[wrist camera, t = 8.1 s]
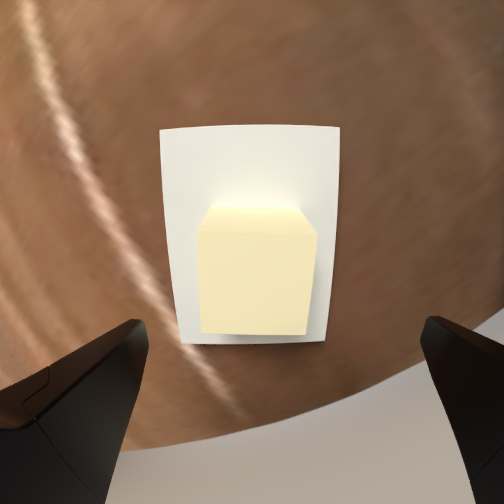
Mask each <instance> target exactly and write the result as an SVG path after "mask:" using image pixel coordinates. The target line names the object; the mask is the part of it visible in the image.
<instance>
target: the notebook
mask: <svg viewBox="0 0 504 504" xmlns="http://www.w3.org/2000/svg"><path fill="white" fill-rule="evenodd" d="M339 144H340V127H326V126H305V125H226V126H205V127H190V128H177V129H166V130H160V151H161V171H162V186H163V200H164V212H165V224H166V234H167V244H168V253H169V262H170V270H171V278H172V286H173V293H174V300H175V307H176V314H177V320H178V326H179V333H180V339H181V343H187V344H267V343H294V342H313V341H325V335H326V328H327V320H328V311H329V303H330V294H331V284H332V274H333V263H334V251H335V238H336V224H337V206H338V184H339ZM211 206H213V207H255V208H283V209H300V211H301V212H302V213H303V215H304V216H305V218H306V219H307V220H308V222H309V223H310V225H311V226H312V227H313V229H314V230H315V232H316V233H317V234H318V240H317V250H316V259H315V268H314V276H313V284H312V292H311V300H310V307H309V314H308V321H307V328H306V335H242V334H215V333H201V322H200V304H199V282H198V255H197V231H198V229H199V227H200V225H201V223H202V222H203V220H204V218H205V216H206V215H207V213H208V211H209V209H210V208H211Z"/></svg>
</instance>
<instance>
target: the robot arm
mask: <svg viewBox="0 0 504 504" xmlns="http://www.w3.org/2000/svg"><path fill="white" fill-rule="evenodd" d="M420 343H421V347H422V350H423V352H424V355H425V358H426V361H427V365H428V367H429V371H430V374H431V377H432V380H433V382H434V385H435V387H436V389H437V392H438V394H439V397H440V399H441V401H442V404H443V406H444V409H445V411H446V414H447V416H448V419H449V422H450V424H451V427H452V430H453V432H454V435H455V438H456V440H457V443H458V446H459V449H460V452H461V455H462V458H463V461H464V464H465V467H466V470H467V474H468V477H469V480H470V484H471V488H472V491H473V495H474V499H475V503H476V504H504V345H502V344H500V343H498V342H496V341H494V340H491V339H489V338H487V337H485V336H483V335H480V334H478V333H476V332H474V331H472V330H469V329H467V328H465V327H463V326H461V325H458V324H456V323H454V322H452V321H449V320H447V319H445V318H443V317H441V316H430V317H428V318H427V319H426V322H425V325H424V328H423V331H422V334H421V338H420ZM148 349H149V341H148V336H147V331H146V326H145V323H144V321H143V320H140V319H130V320H128V321H126V322H125V323H123V324H121V325H119V326H117V327H116V328H114V329H112V330H110V331H109V332H107V333H105V334H103V335H102V336H100V337H98V338H96V339H95V340H93V341H91V342H89V343H88V344H86V345H84V346H82V347H81V348H79V349H77V350H75V351H74V352H72V353H70V354H68V355H67V356H65V357H63V358H61V359H60V360H58V361H56V362H54V363H53V364H51V365H50V367H49V366H47V367H45V368H44V369H42V370H40V371H38V372H37V373H35V374H33V375H31V376H29V377H27V378H25V379H23V380H21V381H19V382H17V383H15V384H13V385H11V386H9V387H6V388H4V389H2V390H0V504H105V501H106V497H107V493H108V490H109V486H110V483H111V479H112V476H113V472H114V469H115V465H116V462H117V459H118V455H119V452H120V449H121V445H122V442H123V439H124V436H125V433H126V429H127V426H128V423H129V420H130V417H131V414H132V411H133V408H134V405H135V402H136V399H137V396H138V393H139V390H140V386H141V381H142V377H143V372H144V367H145V363H146V358H147V354H148Z"/></svg>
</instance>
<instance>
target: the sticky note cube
mask: <svg viewBox="0 0 504 504" xmlns="http://www.w3.org/2000/svg"><path fill="white" fill-rule="evenodd" d="M317 240H318V234H317V233H316V232H315V230H314V229H313V227H312V226H311V225H310V223H309V222H308V220H307V219H306V218H305V216H304V215H303V213H302V212H301V211H300V209H283V208H255V207H213V206H211V208H210V209H209V211H208V213H207V215H206V216H205V218H204V220H203V222H202V223H201V225H200V227H199V229H198V231H197V255H198V282H199V304H200V322H201V333H215V334H242V335H306V328H307V321H308V314H309V307H310V300H311V292H312V284H313V276H314V268H315V259H316V250H317Z"/></svg>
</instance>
